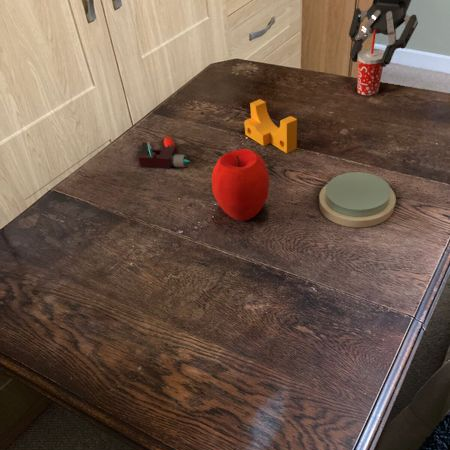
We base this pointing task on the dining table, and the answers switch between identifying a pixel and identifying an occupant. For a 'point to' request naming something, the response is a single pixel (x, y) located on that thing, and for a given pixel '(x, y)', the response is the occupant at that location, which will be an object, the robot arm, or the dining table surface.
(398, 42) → the robot arm
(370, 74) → the beverage cup
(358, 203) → the round push button
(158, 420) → the dining table surface
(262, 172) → the apple
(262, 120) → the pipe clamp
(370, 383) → the dining table surface
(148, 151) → the toy gun
